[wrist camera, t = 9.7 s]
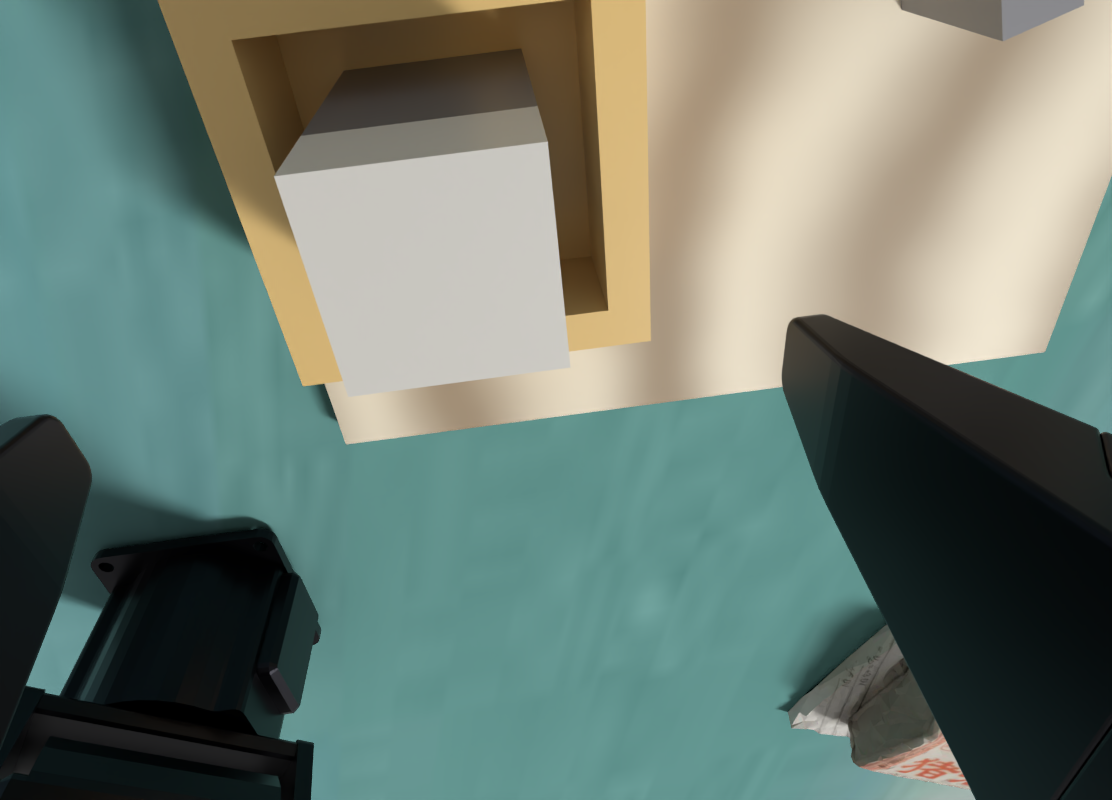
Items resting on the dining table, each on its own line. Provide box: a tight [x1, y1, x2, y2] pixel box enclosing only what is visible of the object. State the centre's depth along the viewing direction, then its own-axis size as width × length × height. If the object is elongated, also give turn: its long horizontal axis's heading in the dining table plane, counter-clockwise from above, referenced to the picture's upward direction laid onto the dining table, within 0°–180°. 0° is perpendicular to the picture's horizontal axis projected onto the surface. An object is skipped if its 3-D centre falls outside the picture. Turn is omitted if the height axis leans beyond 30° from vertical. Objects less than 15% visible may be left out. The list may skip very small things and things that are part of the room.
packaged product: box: [788, 624, 971, 790], centre depth 36 cm, size 18×5×10 cm
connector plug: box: [274, 49, 570, 397], centre depth 14 cm, size 4×4×7 cm
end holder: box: [158, 0, 651, 386], centre depth 16 cm, size 8×8×4 cm
